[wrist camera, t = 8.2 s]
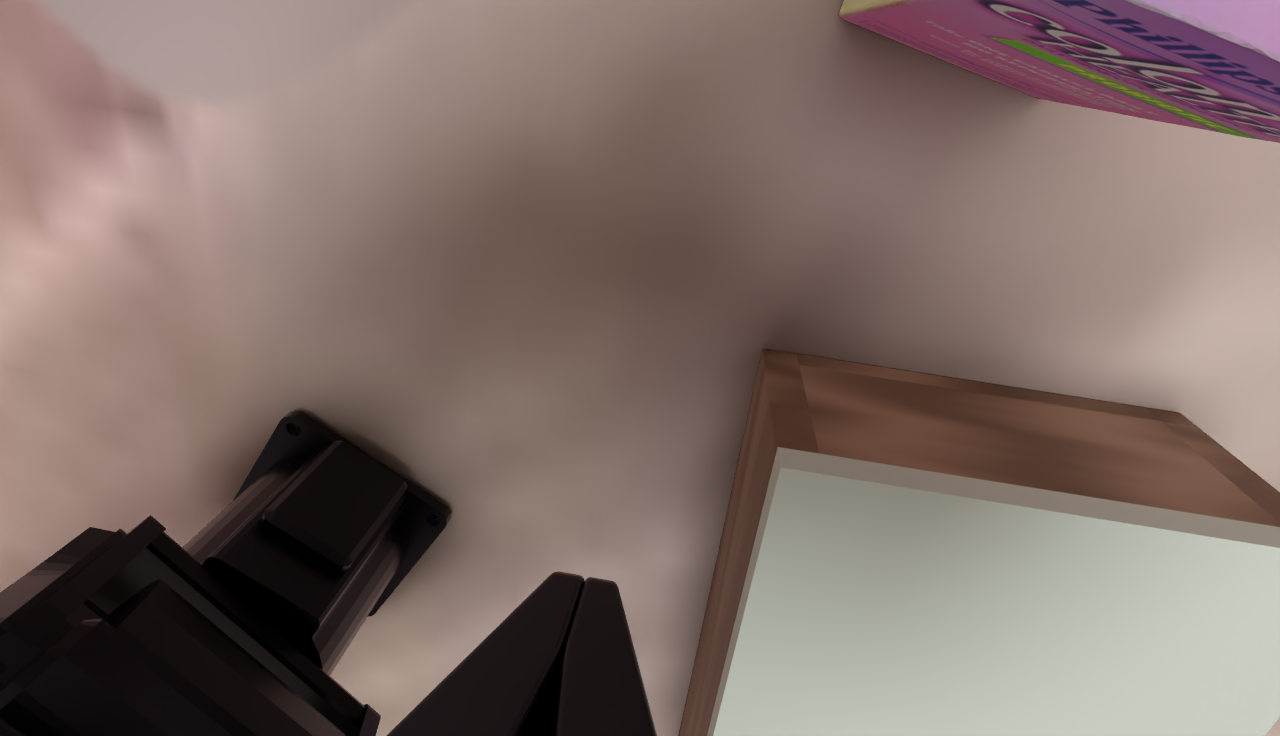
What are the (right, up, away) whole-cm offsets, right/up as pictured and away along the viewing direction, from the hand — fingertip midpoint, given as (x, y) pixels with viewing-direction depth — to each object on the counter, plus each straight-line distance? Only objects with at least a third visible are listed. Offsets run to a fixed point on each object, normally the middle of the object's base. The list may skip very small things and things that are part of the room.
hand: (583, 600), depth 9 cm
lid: (+9, -8, +9) cm, 15 cm away
